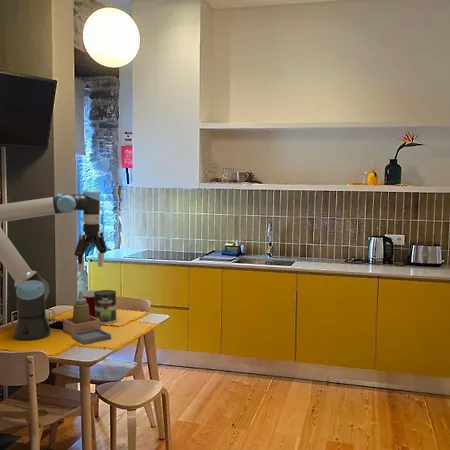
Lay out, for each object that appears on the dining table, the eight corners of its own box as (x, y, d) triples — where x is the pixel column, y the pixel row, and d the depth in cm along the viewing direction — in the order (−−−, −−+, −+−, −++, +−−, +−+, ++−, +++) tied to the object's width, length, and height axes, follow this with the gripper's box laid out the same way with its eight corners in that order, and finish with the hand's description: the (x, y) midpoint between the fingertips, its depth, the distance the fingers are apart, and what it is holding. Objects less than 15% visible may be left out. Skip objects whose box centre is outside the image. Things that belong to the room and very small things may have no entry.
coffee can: (117, 322, 264) (116, 293, 263) (94, 324, 262) (93, 294, 261) (116, 317, 274) (115, 289, 273) (95, 318, 272) (94, 290, 271)
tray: (84, 344, 231) (84, 339, 231) (72, 337, 241) (72, 333, 240) (111, 338, 239) (110, 334, 239) (98, 332, 248) (98, 328, 248)
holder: (74, 336, 243) (74, 324, 243) (63, 330, 253) (62, 319, 252) (100, 330, 251) (100, 320, 250) (88, 325, 261) (88, 314, 260)
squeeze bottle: (71, 329, 254) (70, 290, 252) (89, 327, 257) (88, 288, 255) (73, 333, 247) (72, 294, 245) (92, 331, 250) (91, 292, 248)
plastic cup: (81, 319, 270) (81, 295, 269) (81, 314, 280) (80, 290, 279) (104, 318, 273) (104, 294, 272) (103, 312, 283) (102, 289, 282)
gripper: (79, 225, 246) (79, 273, 247) (114, 222, 268) (114, 265, 270) (66, 224, 249) (66, 271, 251) (102, 221, 271) (101, 264, 273)
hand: (91, 268), depth 260 cm, fingers open, 13 cm apart
